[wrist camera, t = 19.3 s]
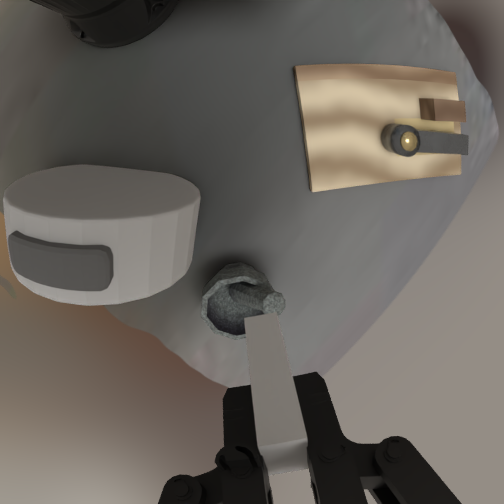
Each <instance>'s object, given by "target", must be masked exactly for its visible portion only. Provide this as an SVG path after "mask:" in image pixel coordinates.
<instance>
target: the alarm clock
mask: <svg viewBox="0 0 504 504" xmlns="http://www.w3.org/2000/svg"><path fill="white" fill-rule="evenodd" d="M200 199H201V197H200V191H199V189H198V188H197V187H196V186H195V185H194V184H193V183H191V182H189V181H187V180H185V179H183V178H181V177H179V176H176V175H173V174H169V173H161V172H153V171H145V170H137V169H128V168H118V167H108V166H97V165H86V164H81V165H69V166H62V167H55V168H50V169H46V170H41V171H38V172H35V173H32V174H29V175H26V176H23V177H21V178H20V179H18V180H16V181H14V182H12V183H11V184H10V185H9V186H8V187H7V188H6V189H5V192H4V198H3V203H4V216H5V227H6V235H7V243H8V250H9V257H10V263H11V268H12V270H13V272H14V274H15V275H16V277H17V279H18V280H19V282H21V283H22V284H23V285H25V286H26V287H27V288H29V289H30V290H31V291H32V292H34V293H35V294H38V295H41V296H44V297H46V298H49V299H52V300H54V301H58V302H64V303H72V304H79V305H87V306H89V305H108V304H121V303H125V302H129V301H133V300H138V299H142V298H146V297H149V296H151V295H154V294H156V293H158V292H160V291H162V290H164V289H167V288H169V287H171V286H172V285H173V284H174V283H176V282H177V281H178V280H179V279H180V278H181V277H183V276H184V275H185V274H186V272H187V270H188V268H189V266H190V264H191V262H192V256H193V248H194V241H195V233H196V226H197V219H198V212H199V206H200Z"/></svg>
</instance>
